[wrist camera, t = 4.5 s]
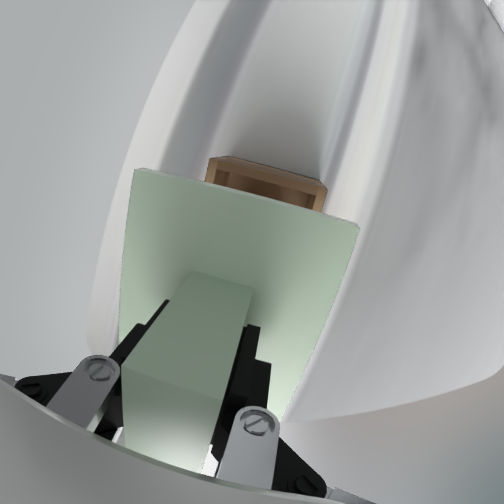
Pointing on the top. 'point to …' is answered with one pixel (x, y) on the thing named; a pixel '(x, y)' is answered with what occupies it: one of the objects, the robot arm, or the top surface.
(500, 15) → the unicorn horn
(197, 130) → the top surface
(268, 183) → the box
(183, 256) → the mint green stepped block
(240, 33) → the top surface
